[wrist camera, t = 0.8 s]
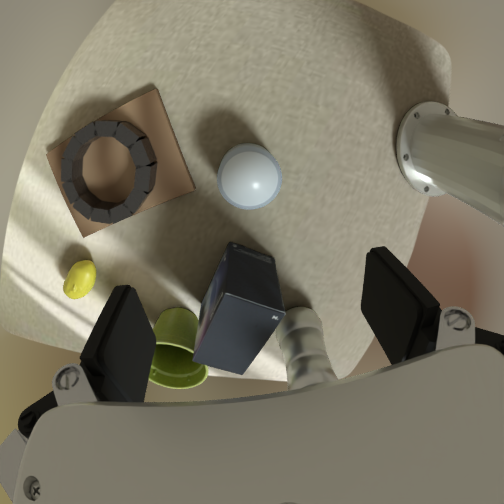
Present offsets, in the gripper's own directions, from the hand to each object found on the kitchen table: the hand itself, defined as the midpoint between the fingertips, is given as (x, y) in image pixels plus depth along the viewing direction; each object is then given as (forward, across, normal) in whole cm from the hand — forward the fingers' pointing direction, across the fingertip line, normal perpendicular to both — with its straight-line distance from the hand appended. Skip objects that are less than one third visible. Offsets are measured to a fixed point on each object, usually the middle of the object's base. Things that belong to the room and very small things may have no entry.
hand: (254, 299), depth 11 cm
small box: (+22, +2, +13) cm, 25 cm away
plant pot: (+22, +11, +19) cm, 31 cm away
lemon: (+22, +23, +9) cm, 33 cm away
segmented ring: (+22, +14, -4) cm, 26 cm away
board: (+22, +14, -4) cm, 26 cm away
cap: (+21, -1, -1) cm, 21 cm away
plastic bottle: (+21, -5, +21) cm, 30 cm away
